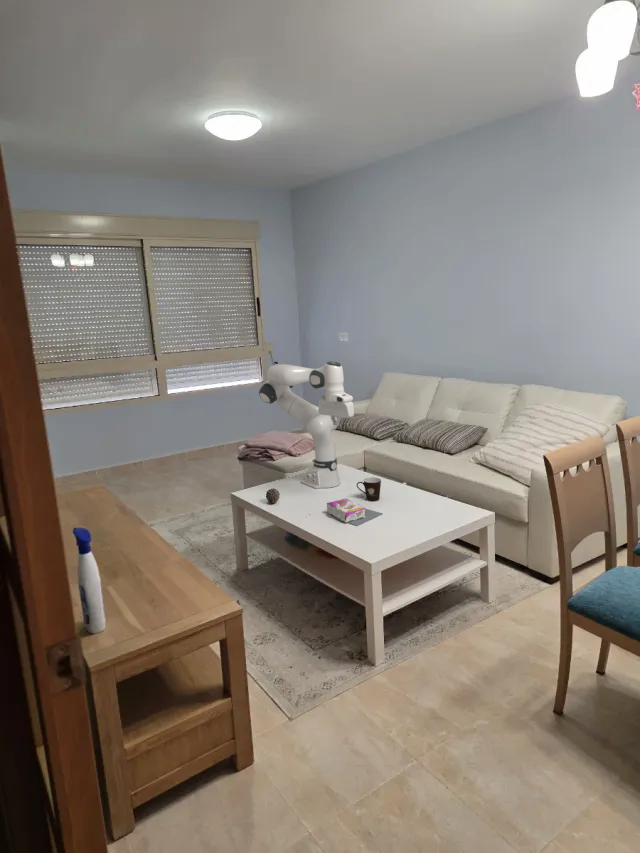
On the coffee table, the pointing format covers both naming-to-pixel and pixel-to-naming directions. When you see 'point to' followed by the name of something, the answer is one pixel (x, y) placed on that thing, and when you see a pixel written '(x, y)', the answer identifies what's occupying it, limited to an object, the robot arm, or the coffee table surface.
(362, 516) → the candy bar box
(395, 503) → the coffee table surface
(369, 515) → the mat
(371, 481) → the coffee mug
